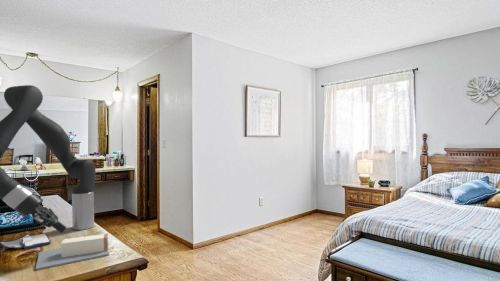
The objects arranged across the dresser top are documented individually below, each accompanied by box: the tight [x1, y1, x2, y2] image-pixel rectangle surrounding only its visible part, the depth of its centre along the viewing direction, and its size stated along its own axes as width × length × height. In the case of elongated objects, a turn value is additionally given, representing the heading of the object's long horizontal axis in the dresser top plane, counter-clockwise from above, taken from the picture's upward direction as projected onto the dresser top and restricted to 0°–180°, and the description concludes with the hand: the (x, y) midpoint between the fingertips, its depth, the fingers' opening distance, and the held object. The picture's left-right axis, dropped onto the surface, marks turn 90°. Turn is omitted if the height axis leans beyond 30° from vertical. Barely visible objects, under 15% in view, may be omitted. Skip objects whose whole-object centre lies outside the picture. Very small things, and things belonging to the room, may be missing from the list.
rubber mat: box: [35, 247, 110, 271], centre depth 110 cm, size 17×22×1 cm
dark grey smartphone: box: [23, 233, 52, 250], centre depth 124 cm, size 9×2×16 cm
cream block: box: [60, 233, 109, 257], centre depth 111 cm, size 5×5×15 cm
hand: (64, 230), depth 108 cm, fingers closed
